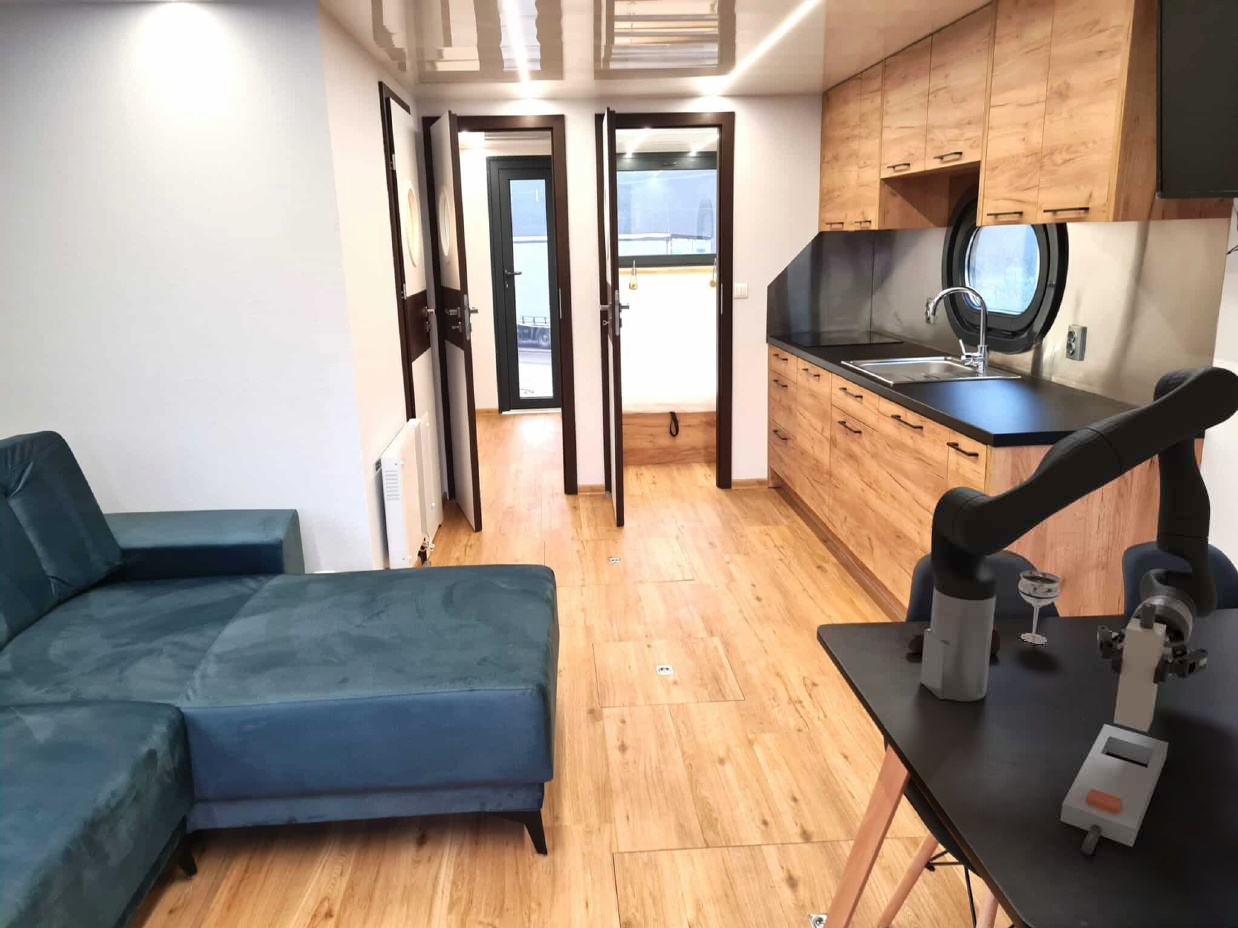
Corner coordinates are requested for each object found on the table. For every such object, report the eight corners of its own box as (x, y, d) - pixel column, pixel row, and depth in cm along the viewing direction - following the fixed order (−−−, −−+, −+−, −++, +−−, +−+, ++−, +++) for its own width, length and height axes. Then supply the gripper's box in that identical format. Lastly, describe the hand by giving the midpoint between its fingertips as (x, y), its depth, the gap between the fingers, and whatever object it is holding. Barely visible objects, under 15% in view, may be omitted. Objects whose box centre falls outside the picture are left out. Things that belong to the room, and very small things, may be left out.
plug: (1147, 732, 118) (1164, 614, 114) (1113, 722, 121) (1129, 606, 116) (1152, 719, 121) (1169, 604, 117) (1119, 710, 124) (1134, 597, 119)
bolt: (908, 661, 158) (990, 656, 159) (918, 660, 153) (1003, 654, 154) (903, 628, 159) (984, 623, 160) (913, 626, 154) (997, 620, 155)
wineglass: (1061, 645, 160) (1069, 582, 157) (1028, 648, 158) (1035, 585, 155) (1037, 629, 166) (1044, 569, 163) (1005, 632, 165) (1011, 572, 162)
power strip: (1123, 869, 103) (1127, 844, 102) (1049, 840, 108) (1052, 817, 107) (1165, 758, 125) (1169, 737, 124) (1102, 739, 129) (1105, 718, 129)
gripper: (1108, 592, 133) (1081, 632, 120) (1221, 616, 124) (1205, 661, 111) (1102, 638, 135) (1075, 682, 122) (1213, 664, 126) (1196, 715, 113)
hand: (1137, 672), depth 117 cm, fingers closed on plug, 4 cm apart
